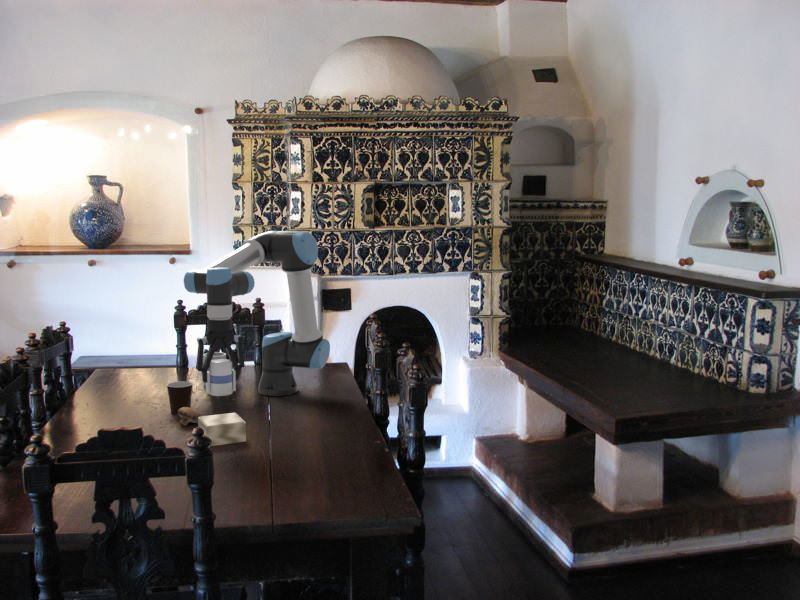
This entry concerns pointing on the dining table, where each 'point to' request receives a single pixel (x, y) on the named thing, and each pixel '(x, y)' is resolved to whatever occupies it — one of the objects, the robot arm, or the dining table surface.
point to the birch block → (223, 428)
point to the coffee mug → (179, 395)
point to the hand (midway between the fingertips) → (220, 391)
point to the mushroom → (188, 415)
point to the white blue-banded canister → (221, 377)
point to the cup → (215, 357)
